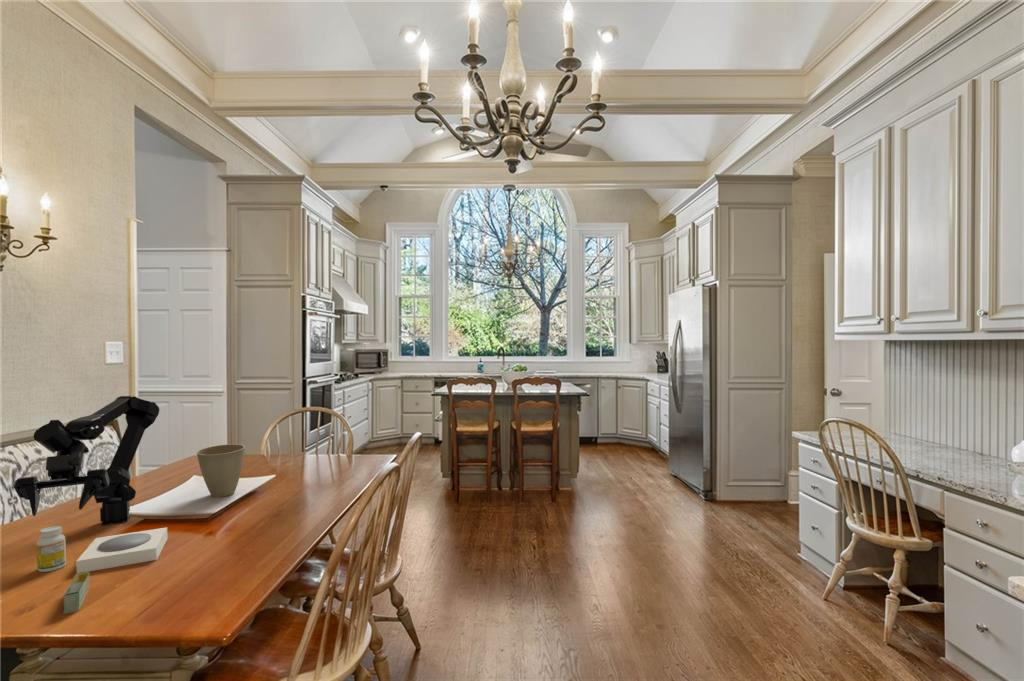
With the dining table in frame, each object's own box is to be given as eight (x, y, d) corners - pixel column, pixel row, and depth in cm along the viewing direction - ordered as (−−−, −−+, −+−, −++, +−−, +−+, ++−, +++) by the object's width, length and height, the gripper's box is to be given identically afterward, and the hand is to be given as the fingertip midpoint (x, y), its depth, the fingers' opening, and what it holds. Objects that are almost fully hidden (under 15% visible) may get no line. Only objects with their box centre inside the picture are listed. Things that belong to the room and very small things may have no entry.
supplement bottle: (61, 569, 129) (59, 530, 128) (33, 574, 126) (31, 534, 126) (70, 561, 134) (68, 523, 133) (43, 565, 131) (41, 526, 131)
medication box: (79, 612, 109) (79, 592, 109) (62, 615, 107) (62, 595, 107) (90, 588, 119) (89, 570, 119) (74, 591, 118) (74, 573, 118)
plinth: (167, 538, 147) (167, 525, 147) (156, 559, 133) (156, 546, 133) (96, 549, 141) (95, 536, 141) (76, 573, 126) (76, 559, 126)
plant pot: (253, 492, 189) (251, 448, 188) (208, 504, 178) (205, 457, 177) (237, 483, 199) (234, 441, 198) (192, 494, 188) (190, 450, 187)
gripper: (14, 447, 135) (-2, 501, 126) (105, 438, 144) (96, 489, 134) (27, 471, 142) (12, 524, 133) (112, 461, 151) (105, 511, 141)
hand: (57, 511), depth 135 cm, fingers open, 9 cm apart
